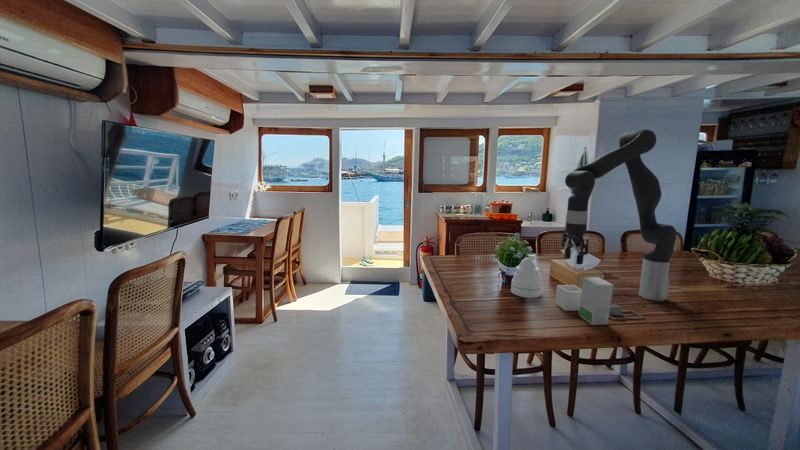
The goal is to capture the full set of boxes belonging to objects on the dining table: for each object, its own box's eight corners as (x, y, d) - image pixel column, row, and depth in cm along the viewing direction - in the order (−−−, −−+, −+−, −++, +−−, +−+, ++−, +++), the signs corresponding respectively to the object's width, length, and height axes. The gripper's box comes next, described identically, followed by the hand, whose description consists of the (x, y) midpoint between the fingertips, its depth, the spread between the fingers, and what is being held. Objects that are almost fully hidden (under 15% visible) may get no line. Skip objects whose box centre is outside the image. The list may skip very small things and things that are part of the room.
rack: (631, 311, 130) (631, 310, 130) (645, 319, 123) (645, 317, 123) (599, 312, 129) (600, 310, 129) (612, 319, 122) (612, 318, 122)
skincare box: (578, 315, 126) (581, 277, 124) (594, 315, 126) (598, 276, 124) (592, 325, 118) (596, 284, 115) (609, 325, 118) (614, 284, 116)
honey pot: (544, 292, 151) (547, 254, 148) (534, 300, 142) (536, 260, 139) (517, 285, 160) (520, 250, 157) (506, 292, 150) (508, 254, 148)
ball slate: (616, 313, 128) (617, 302, 128) (624, 318, 124) (625, 307, 123) (605, 313, 128) (606, 302, 127) (613, 318, 124) (614, 307, 123)
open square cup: (572, 303, 138) (574, 285, 137) (583, 310, 131) (585, 291, 130) (555, 303, 138) (556, 285, 137) (565, 310, 130) (566, 291, 129)
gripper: (597, 224, 122) (593, 266, 125) (575, 219, 136) (572, 256, 139) (577, 224, 122) (574, 266, 124) (557, 219, 136) (554, 257, 138)
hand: (573, 261), depth 131 cm, fingers open, 8 cm apart
